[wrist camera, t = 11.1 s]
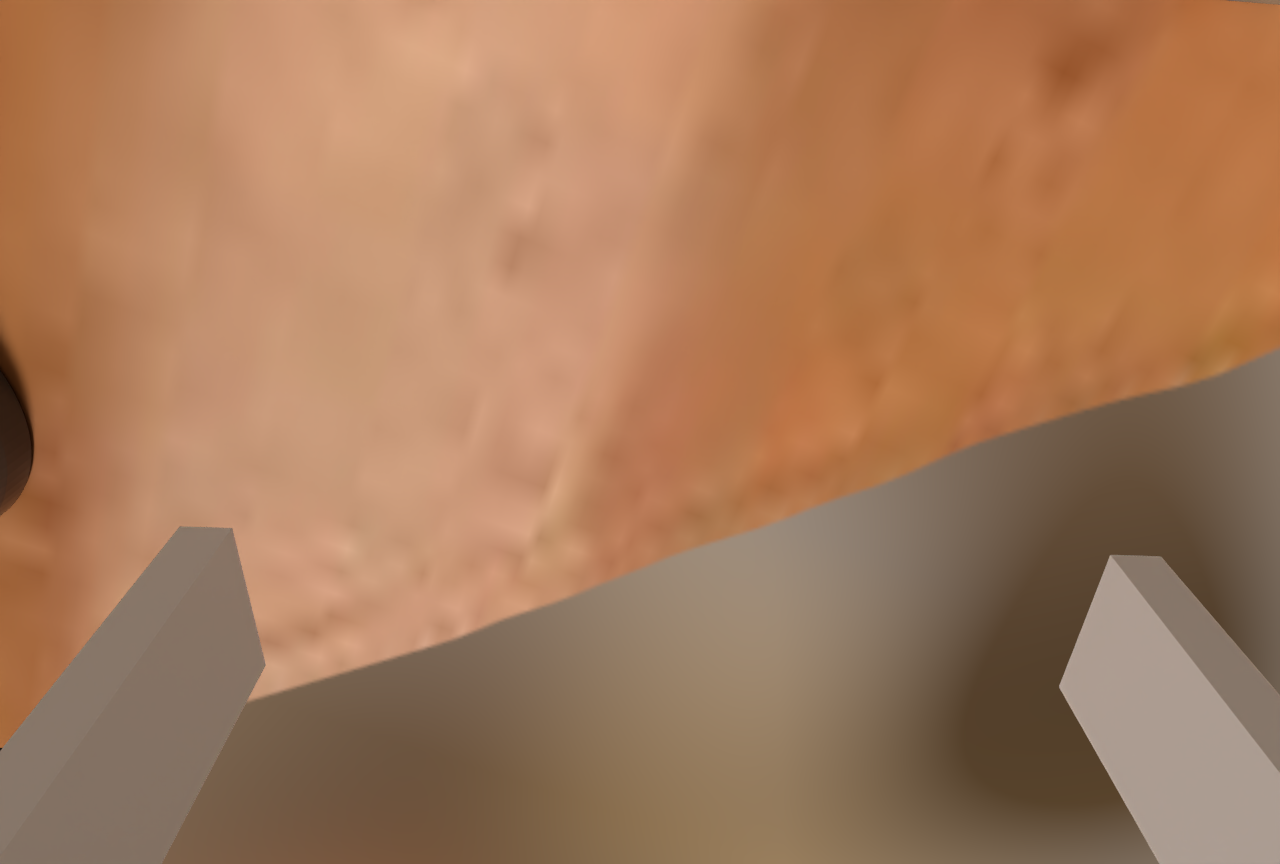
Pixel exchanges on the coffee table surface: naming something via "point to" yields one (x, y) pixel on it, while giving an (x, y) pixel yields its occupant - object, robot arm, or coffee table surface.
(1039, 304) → the coffee table surface
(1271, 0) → the box
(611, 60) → the coffee table surface
